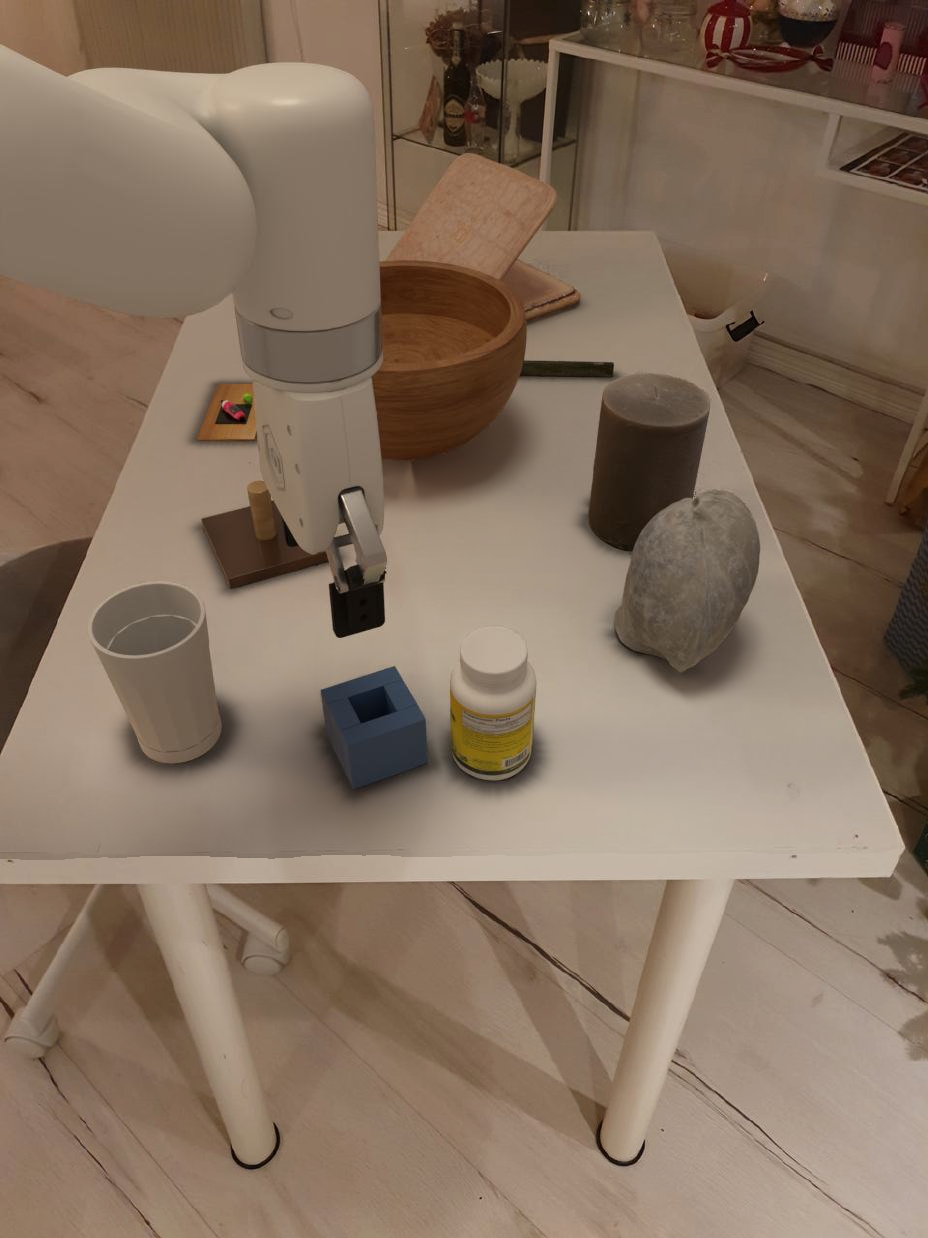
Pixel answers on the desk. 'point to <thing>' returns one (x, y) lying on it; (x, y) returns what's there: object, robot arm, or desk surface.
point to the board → (230, 414)
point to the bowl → (443, 356)
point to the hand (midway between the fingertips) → (332, 582)
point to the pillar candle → (645, 452)
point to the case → (487, 229)
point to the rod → (567, 368)
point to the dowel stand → (255, 541)
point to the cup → (160, 667)
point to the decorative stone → (689, 578)
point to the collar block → (374, 726)
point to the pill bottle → (492, 704)
